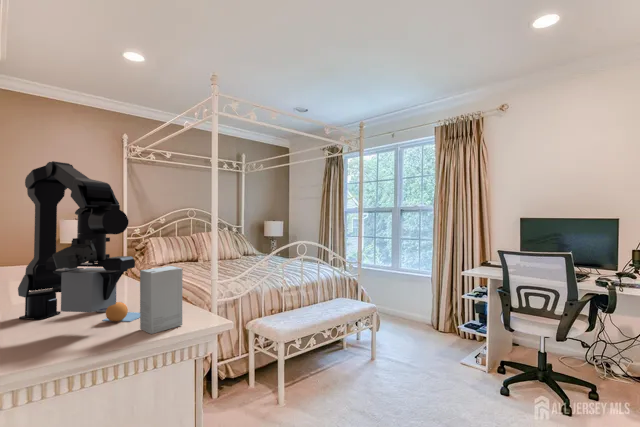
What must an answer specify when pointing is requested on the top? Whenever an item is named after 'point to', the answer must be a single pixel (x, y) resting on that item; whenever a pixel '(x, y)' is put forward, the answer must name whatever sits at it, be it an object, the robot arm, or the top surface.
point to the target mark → (128, 317)
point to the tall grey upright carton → (160, 299)
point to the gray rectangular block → (84, 291)
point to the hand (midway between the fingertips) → (90, 299)
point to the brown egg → (117, 312)
